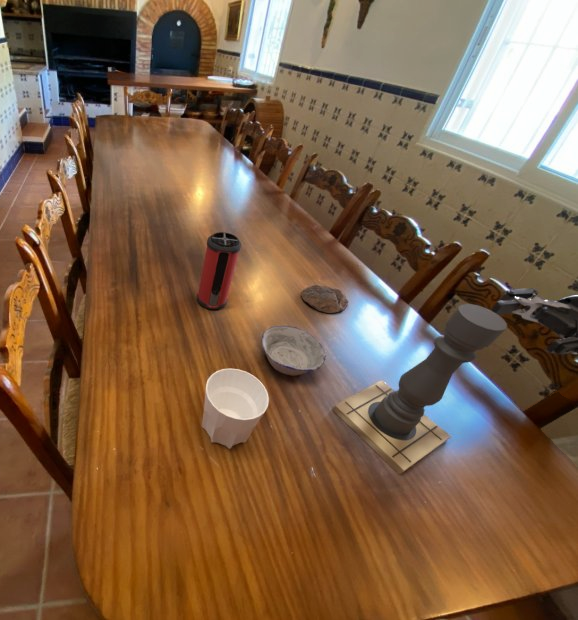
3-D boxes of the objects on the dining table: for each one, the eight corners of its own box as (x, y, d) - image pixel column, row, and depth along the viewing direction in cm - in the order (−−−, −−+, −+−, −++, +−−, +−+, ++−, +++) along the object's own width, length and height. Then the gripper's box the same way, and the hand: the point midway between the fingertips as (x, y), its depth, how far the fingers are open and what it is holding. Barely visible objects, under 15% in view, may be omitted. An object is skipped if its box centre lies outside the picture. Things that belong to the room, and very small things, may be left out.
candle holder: (366, 409, 67) (445, 305, 51) (392, 402, 68) (476, 300, 52) (392, 438, 62) (488, 335, 46) (419, 430, 64) (520, 328, 48)
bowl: (307, 342, 82) (315, 326, 79) (326, 387, 72) (335, 371, 69) (251, 337, 82) (257, 322, 79) (262, 382, 72) (269, 366, 69)
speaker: (196, 308, 89) (208, 244, 77) (196, 290, 95) (207, 228, 83) (227, 312, 88) (243, 248, 77) (225, 293, 94) (240, 232, 83)
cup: (248, 462, 59) (264, 428, 52) (190, 440, 61) (199, 406, 55) (256, 413, 66) (271, 379, 60) (204, 396, 68) (213, 361, 62)
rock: (294, 288, 99) (297, 281, 97) (335, 288, 100) (338, 281, 98) (310, 314, 90) (313, 306, 89) (354, 314, 91) (358, 306, 89)
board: (446, 440, 64) (451, 436, 63) (399, 475, 59) (404, 470, 58) (377, 384, 74) (381, 379, 73) (331, 409, 68) (335, 404, 67)
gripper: (568, 272, 60) (495, 279, 57) (679, 328, 50) (598, 342, 46) (534, 306, 65) (465, 315, 61) (630, 365, 54) (553, 379, 51)
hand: (522, 326), depth 54 cm, fingers open, 8 cm apart
